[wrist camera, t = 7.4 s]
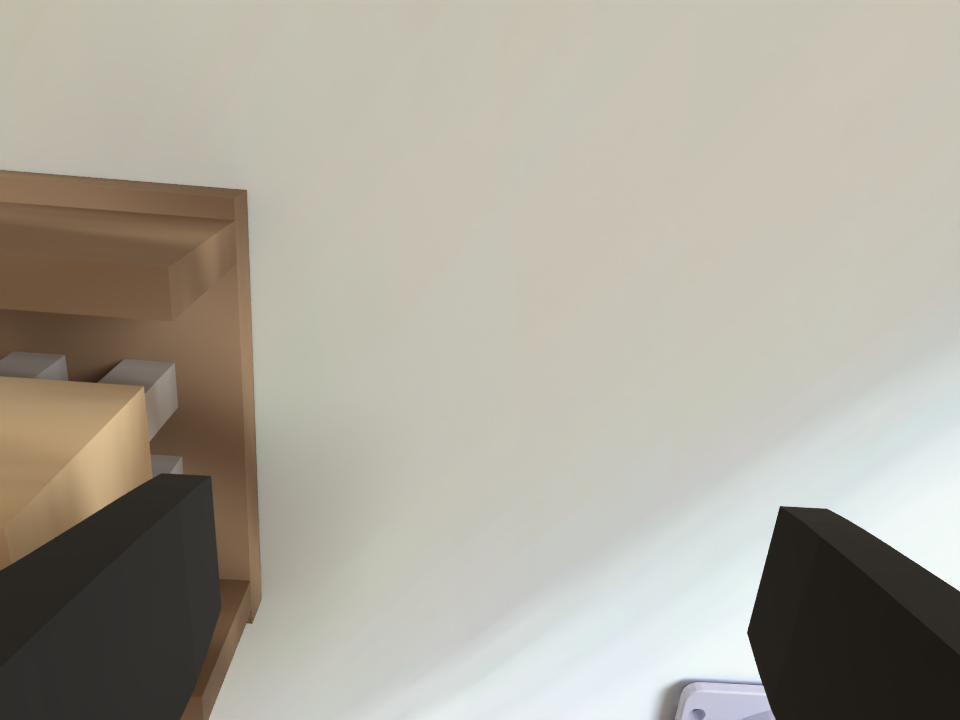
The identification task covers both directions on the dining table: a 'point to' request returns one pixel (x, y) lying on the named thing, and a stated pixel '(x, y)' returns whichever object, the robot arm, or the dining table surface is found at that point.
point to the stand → (148, 341)
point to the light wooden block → (65, 456)
